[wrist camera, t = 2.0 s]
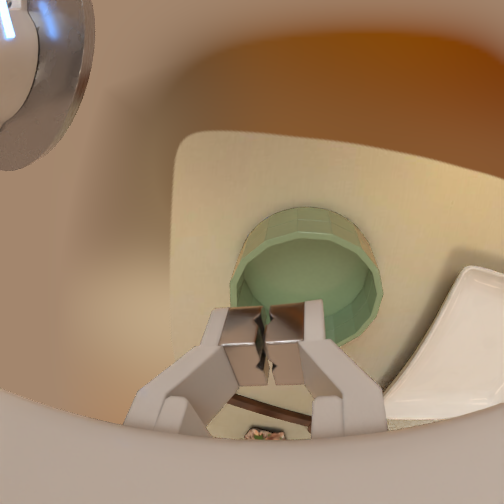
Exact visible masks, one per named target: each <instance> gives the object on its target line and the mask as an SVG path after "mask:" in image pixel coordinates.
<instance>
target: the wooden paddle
mask: <svg viewBox="0 0 504 504" xmlns="http://www.w3.org/2000/svg"><path fill="white" fill-rule="evenodd" d="M227 403H228V404H231V405H234V406H237V407H240V408H244V409H247V410H250V411H253V412H256V413H260V414H263V415H266V416H270V417H273V418H277V419H281V420H284V421H288V422H292V423H296V424H300V425H304V426H308V432H309V433H311V424H312V417H311V416H307V415H303V414H300V413H296V412H292V411H289V410H285V409H282V408H278V407H275V406H271V405H268V404H265V403H262V402H258V401H255V400H252V399H249V398H246V397H243V396H240V395H237V394H234V395H233V396H232V397H231V399H230V400H229V401H228V402H227Z"/></svg>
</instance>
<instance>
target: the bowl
mask: <svg viewBox="0 0 504 504" xmlns="http://www.w3.org/2000/svg"><path fill="white" fill-rule="evenodd" d="M382 297H383V289H382V283H381V278H380V273H379V269H378V266H377V263H376V260H375V258H374V255H373V252H372V249H371V247H370V244H369V243H368V241H367V240H366V238H365V237H364V235H363V234H362V232H361V231H360V230H359V229H358V228H357V227H356V226H355V225H354V224H353V223H352V222H350V221H349V220H348V219H346V218H345V217H343V216H341V215H339V214H337V213H335V212H332V211H329V210H325V209H321V208H314V207H300V208H292V209H288V210H284V211H281V212H279V213H276V214H274V215H272V216H270V217H268V218H267V219H265V220H264V221H262V222H261V223H260V224H259V225H257V226H256V227H255V228H254V229H253V230H252V232H251V233H250V234H249V235H248V237H247V239H246V241H245V242H244V245H243V247H242V250H241V252H240V254H239V256H238V259H237V262H236V265H235V268H234V271H233V274H232V277H231V280H230V305H231V307H244V306H262V305H263V306H264V307H265V311H266V314H267V319H266V324H267V325H268V324H269V323H270V322H271V321H270V316H269V309H270V306H271V305H276V304H287V303H297V302H305V301H311V300H319V299H322V301H323V309H324V320H325V332H326V339H331V340H332V341H333V342H334V343H335V344H336V345H337V346H338V347H340V346H342V345H344V344H346V343H348V342H349V341H351V340H353V339H355V338H356V337H358V336H360V335H361V334H362V333H363V332H364V330H365V329H366V328H367V327H368V326H369V325H370V324H371V322H372V321H373V320H374V319H375V318H376V316H377V313H378V310H379V307H380V303H381V300H382Z"/></svg>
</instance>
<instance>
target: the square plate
mask: <svg viewBox="0 0 504 504" xmlns="http://www.w3.org/2000/svg"><path fill="white" fill-rule="evenodd" d="M383 399H384V405H385V412H386V419H399V420H434V419H449V418H453V417H457V416H461V415H464V414H468V413H471V412H475V411H478V410H481V409H484V408H487V407H491V406H494V405H497V404H499V403H502V402H504V274H503V273H500V272H497V271H494V270H491V269H487V268H484V267H479V266H472V265H469V266H465V267H464V268H463V269H462V270H461V271H460V273H459V275H458V277H457V278H456V280H455V282H454V284H453V286H452V287H451V289H450V291H449V293H448V295H447V296H446V298H445V300H444V302H443V304H442V306H441V308H440V310H439V312H438V314H437V316H436V317H435V319H434V321H433V323H432V324H431V326H430V328H429V330H428V331H427V333H426V335H425V336H424V338H423V339H422V341H421V343H420V344H419V346H418V347H417V349H416V350H415V352H414V353H413V355H412V356H411V358H410V359H409V361H408V362H407V363H406V365H405V366H404V367H403V369H402V370H401V371H400V373H399V374H398V375H397V376H396V378H395V379H394V380H393V382H392V383H391V384H390V385H389V386H388V388H387V389H386V390H385V392H384V393H383Z"/></svg>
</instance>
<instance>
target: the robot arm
mask: <svg viewBox="0 0 504 504" xmlns="http://www.w3.org/2000/svg"><path fill="white" fill-rule="evenodd" d="M37 61H38V36H37V31H36V27H35V25H34V22H33V21H32V19H31V17H30V16H29V14H28V11H27V0H0V129H1V127H2V125H3V123H4V122H6V121H7V120H8V119H10V118H11V117H13V116H14V115H15V114H16V113H17V112H18V111H19V109H20V108H21V107H22V105H23V104H24V102H25V100H26V98H27V96H28V94H29V92H30V89H31V87H32V84H33V80H34V77H35V73H36V68H37ZM269 316H270V321H271V322H270V323H269V324H268V325H267V324H266V319H267V314H266V311H265V307H264V306H263V305H262V306H244V307H230V308H229V307H227V308H215V309H213V310H212V312H211V315H210V317H209V320H208V323H207V326H206V329H205V331H204V334H203V337H202V340H201V343H200V346H194V347H193V348H192V349H191V350H189V351H188V352H187V353H186V354H184V355H183V356H182V357H181V358H179V359H178V360H177V361H176V362H174V363H173V364H172V365H171V366H169V367H168V368H167V369H165V370H164V371H163V372H162V373H160V374H159V375H158V376H157V377H155V378H154V379H153V380H151V381H150V382H149V383H147V384H146V385H145V386H144V387H142V388H141V389H140V390H138V391H137V394H136V396H135V398H134V400H133V403H132V405H131V407H130V409H129V412H128V414H127V416H126V418H125V421H124V423H123V425H120V424H115V423H111V422H106V421H102V420H98V419H94V418H89V417H86V416H82V415H78V414H75V413H71V412H68V411H64V410H61V409H58V408H54V407H51V406H48V405H45V404H42V403H38V402H36V401H33V400H30V399H28V398H25V397H22V396H19V395H17V394H14V393H11V392H9V391H7V390H4V389H2V388H0V504H504V402H502V403H499V404H497V405H494V406H491V407H487V408H484V409H481V410H478V411H475V412H471V413H468V414H464V415H461V416H457V417H453V418H449V419H445V420H441V421H437V422H432V423H428V424H423V425H418V426H413V427H408V428H403V429H397V430H391V431H388V427H387V420H386V412H385V405H384V399H383V392H382V388H381V387H380V386H379V385H378V384H377V383H376V382H375V381H373V380H372V379H371V378H370V377H369V376H368V375H367V374H366V373H365V372H364V371H363V370H362V369H361V368H360V367H359V366H358V365H357V364H356V363H355V362H354V361H353V360H352V359H351V358H350V357H349V356H348V355H347V354H345V353H344V352H343V351H342V350H341V349H340V348H339V347H338V346H337V345H336V344H335V343H334V342H333V341H332V340H331V339H326V332H325V320H324V309H323V301H322V299H319V300H311V301H305V302H297V303H287V304H276V305H271V306H270V309H269ZM268 359H269V361H271V362H272V363H273V367H272V373H273V376H274V380H275V383H276V385H299V384H305V386H306V388H307V389H308V391H309V392H310V394H311V395H312V396H313V398H314V399H315V400H313V401H312V424H311V439H298V440H247V439H226V438H213V437H212V436H211V434H210V433H209V431H208V430H207V428H206V426H207V425H208V424H209V422H210V421H211V420H212V419H213V418H214V417H215V416H216V415H217V413H218V412H219V411H220V410H221V409H222V408H223V407H224V405H225V404H226V403H227V402H228V401H229V400H230V399H231V397H232V396H233V395H234V394H235V393H236V392H237V390H238V389H239V386H264V385H268V377H269V370H270V367H269V363H268Z"/></svg>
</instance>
